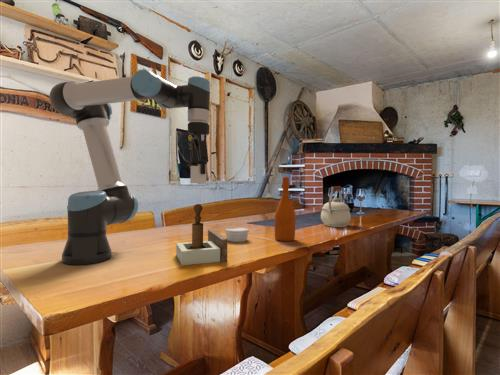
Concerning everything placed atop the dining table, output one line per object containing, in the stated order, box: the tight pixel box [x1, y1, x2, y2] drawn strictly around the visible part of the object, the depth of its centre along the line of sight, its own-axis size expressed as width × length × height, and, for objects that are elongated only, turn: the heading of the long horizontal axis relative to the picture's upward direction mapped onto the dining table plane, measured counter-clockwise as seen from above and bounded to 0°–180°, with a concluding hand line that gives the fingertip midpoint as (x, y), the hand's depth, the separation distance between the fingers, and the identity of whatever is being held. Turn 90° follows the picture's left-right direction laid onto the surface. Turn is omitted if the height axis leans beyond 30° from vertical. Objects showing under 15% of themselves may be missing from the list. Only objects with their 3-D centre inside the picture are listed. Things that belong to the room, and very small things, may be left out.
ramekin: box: [224, 227, 250, 243], centre depth 138 cm, size 11×11×5 cm
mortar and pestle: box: [188, 203, 206, 249], centre depth 104 cm, size 7×6×18 cm
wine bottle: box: [274, 176, 296, 242], centre depth 140 cm, size 10×10×30 cm
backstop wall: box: [207, 229, 228, 263], centre depth 110 cm, size 2×20×8 cm, turn 21°
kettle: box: [320, 185, 352, 228], centre depth 186 cm, size 25×18×25 cm
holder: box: [175, 240, 221, 266], centre depth 104 cm, size 13×13×4 cm
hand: (197, 183), depth 104 cm, fingers open, 13 cm apart
